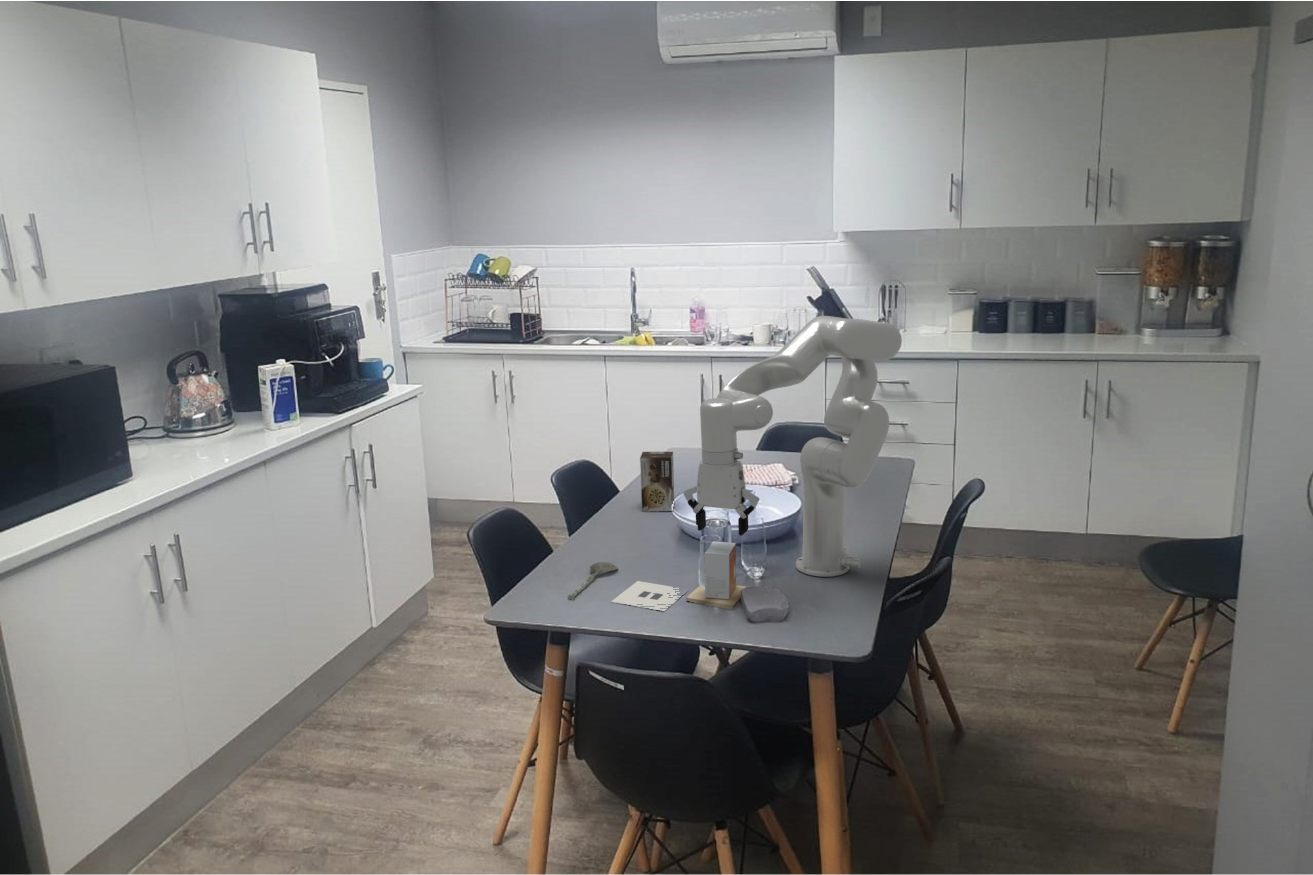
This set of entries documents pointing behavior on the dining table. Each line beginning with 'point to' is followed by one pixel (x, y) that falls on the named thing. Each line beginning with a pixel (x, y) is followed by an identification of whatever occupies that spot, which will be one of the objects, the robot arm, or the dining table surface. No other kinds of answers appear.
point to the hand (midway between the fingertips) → (722, 531)
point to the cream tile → (647, 595)
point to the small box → (720, 570)
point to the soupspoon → (597, 569)
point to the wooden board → (731, 603)
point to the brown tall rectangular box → (657, 481)
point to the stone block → (763, 604)
